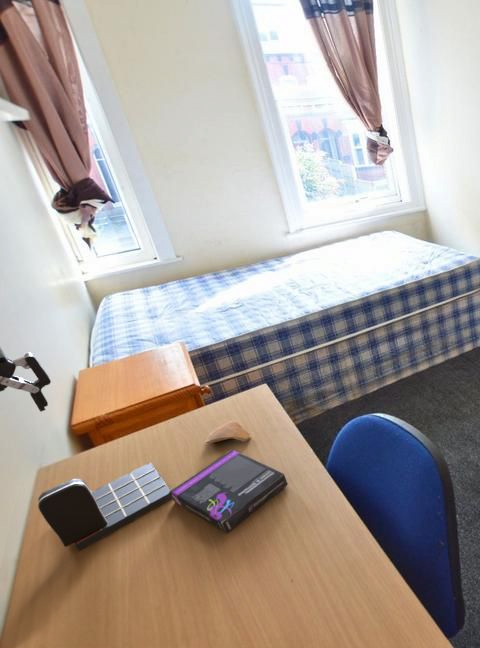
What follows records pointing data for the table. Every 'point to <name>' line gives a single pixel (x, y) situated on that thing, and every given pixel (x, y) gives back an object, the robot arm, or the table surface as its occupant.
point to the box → (229, 490)
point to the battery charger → (71, 511)
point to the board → (128, 500)
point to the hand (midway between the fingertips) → (10, 422)
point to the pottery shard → (228, 433)
